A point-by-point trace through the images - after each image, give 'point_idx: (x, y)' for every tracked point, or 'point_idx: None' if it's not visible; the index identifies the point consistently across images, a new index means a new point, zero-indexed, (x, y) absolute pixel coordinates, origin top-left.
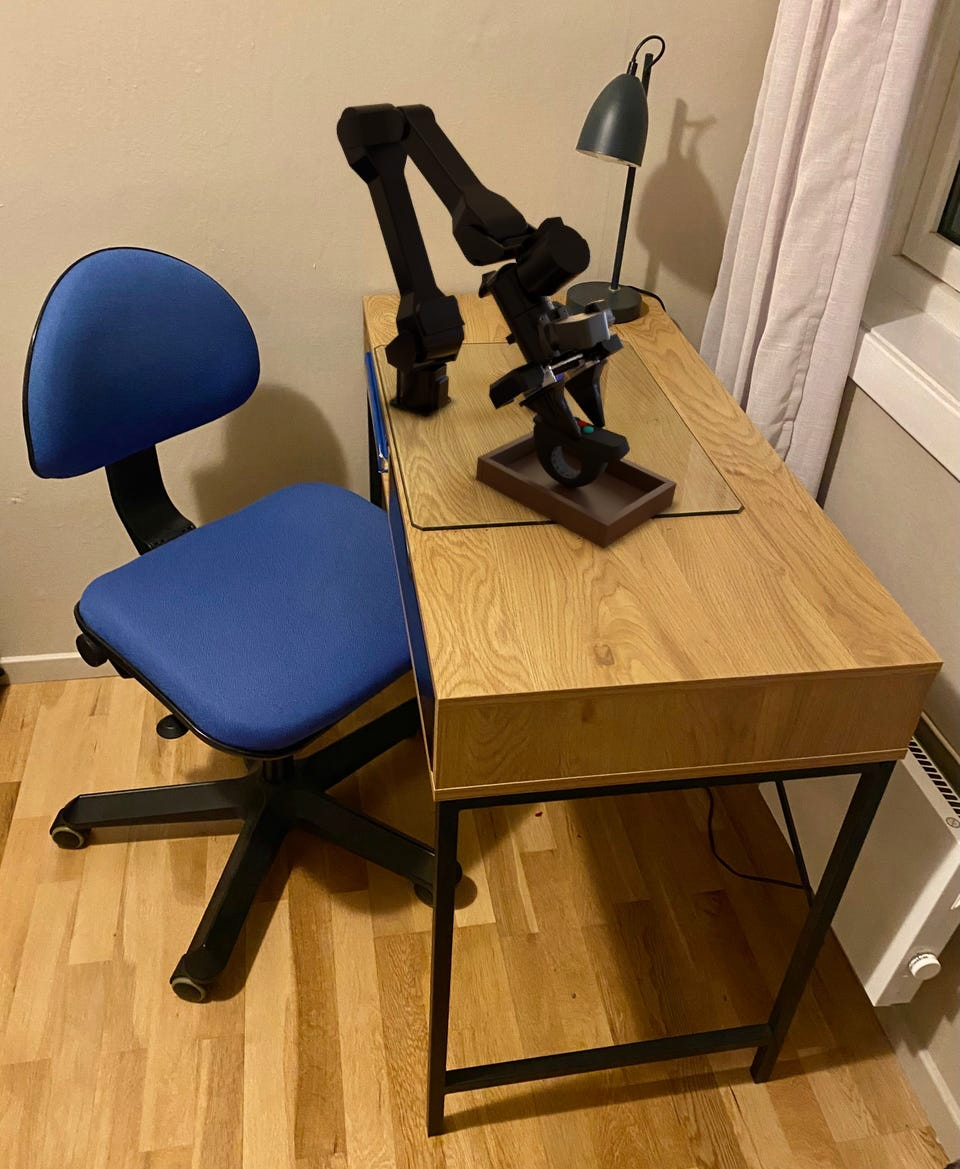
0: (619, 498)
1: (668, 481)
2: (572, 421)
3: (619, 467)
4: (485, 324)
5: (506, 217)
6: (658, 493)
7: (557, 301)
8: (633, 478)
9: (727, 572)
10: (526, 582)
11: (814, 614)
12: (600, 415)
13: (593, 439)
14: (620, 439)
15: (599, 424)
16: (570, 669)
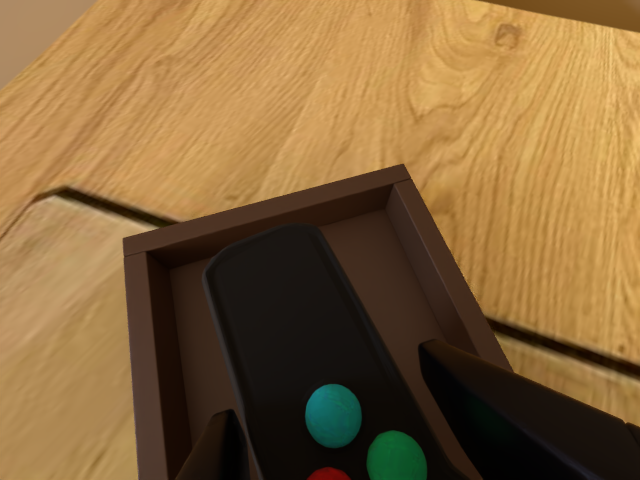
0: None
1: (135, 250)
2: (516, 388)
3: (172, 411)
4: None
5: None
6: (204, 218)
7: None
8: (171, 354)
9: (238, 84)
10: (572, 172)
11: (207, 2)
12: (222, 455)
13: (355, 322)
14: (240, 265)
15: (239, 438)
16: (559, 33)
